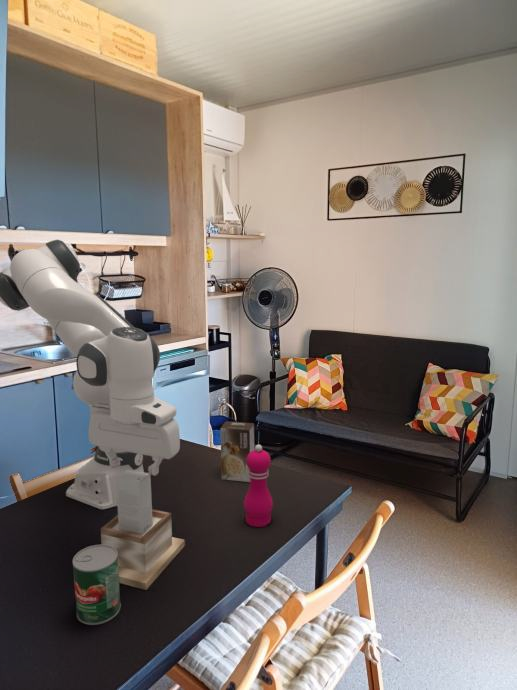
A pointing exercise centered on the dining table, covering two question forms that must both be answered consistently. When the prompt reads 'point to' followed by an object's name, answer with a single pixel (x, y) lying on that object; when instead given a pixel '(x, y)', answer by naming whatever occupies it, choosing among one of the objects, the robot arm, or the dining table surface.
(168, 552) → the display stand
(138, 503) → the skincare box
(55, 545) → the dining table surface
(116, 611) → the canned tomato
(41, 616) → the dining table surface
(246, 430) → the coffee box
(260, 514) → the pepper mill
